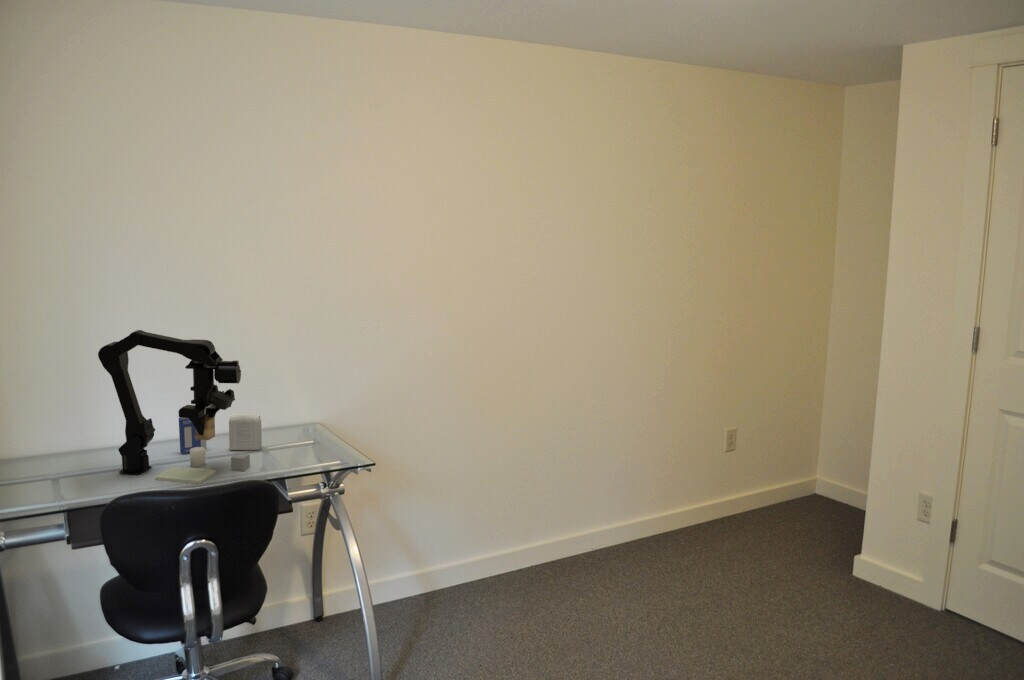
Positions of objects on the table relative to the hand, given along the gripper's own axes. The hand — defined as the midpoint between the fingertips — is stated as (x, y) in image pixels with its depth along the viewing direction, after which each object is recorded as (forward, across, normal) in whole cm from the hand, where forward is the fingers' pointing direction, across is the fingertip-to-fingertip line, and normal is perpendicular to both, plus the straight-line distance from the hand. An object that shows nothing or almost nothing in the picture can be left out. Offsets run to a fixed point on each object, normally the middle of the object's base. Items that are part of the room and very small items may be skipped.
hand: (205, 432), depth 227 cm
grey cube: (+12, +4, -9) cm, 15 cm away
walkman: (+12, +15, +12) cm, 23 cm away
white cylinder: (+12, +4, +5) cm, 13 cm away
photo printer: (+12, +21, -3) cm, 24 cm away
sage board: (+12, -6, +3) cm, 14 cm away
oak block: (+2, 0, 0) cm, 2 cm away
